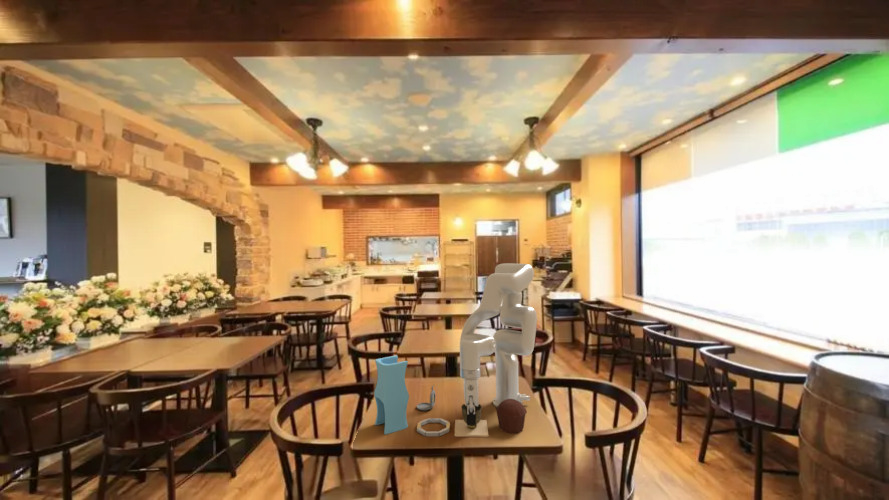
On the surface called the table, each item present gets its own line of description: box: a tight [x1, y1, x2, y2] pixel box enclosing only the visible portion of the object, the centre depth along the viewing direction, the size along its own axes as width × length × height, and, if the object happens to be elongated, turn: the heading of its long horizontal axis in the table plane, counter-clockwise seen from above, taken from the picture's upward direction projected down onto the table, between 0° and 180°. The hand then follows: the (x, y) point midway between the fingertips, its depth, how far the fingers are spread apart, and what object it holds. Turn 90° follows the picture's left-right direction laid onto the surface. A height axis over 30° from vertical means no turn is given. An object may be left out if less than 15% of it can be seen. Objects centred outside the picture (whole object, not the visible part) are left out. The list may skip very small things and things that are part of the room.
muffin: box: [495, 399, 528, 434], centre depth 145 cm, size 12×11×10 cm
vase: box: [373, 354, 410, 435], centre depth 148 cm, size 10×10×25 cm
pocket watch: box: [416, 384, 436, 411], centre depth 164 cm, size 8×8×10 cm
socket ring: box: [416, 417, 451, 437], centre depth 146 cm, size 12×12×1 cm
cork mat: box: [454, 419, 489, 438], centre depth 145 cm, size 12×12×1 cm
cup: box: [461, 403, 483, 429], centre depth 145 cm, size 8×7×8 cm
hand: (471, 418), depth 145 cm, fingers open, 8 cm apart
